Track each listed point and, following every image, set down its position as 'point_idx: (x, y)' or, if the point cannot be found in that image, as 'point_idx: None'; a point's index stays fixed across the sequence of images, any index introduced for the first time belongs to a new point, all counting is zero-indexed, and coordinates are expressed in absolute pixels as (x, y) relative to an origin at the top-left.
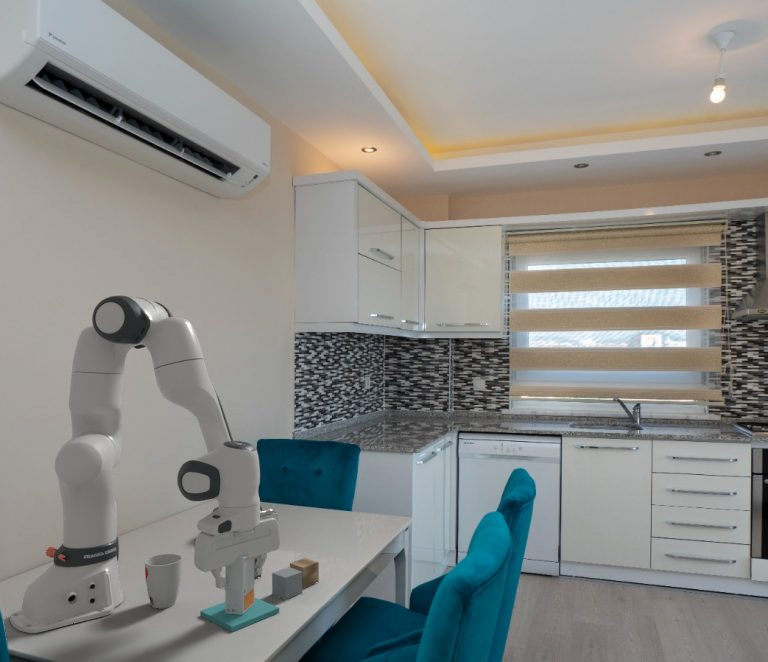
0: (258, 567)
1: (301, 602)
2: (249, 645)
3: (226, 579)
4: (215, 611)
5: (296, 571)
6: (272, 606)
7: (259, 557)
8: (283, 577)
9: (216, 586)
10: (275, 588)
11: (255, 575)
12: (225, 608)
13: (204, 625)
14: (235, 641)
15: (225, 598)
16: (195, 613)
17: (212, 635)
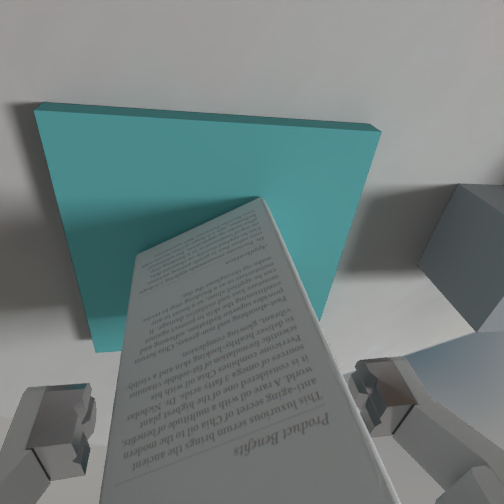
0: (385, 432)
1: (409, 314)
2: (98, 411)
3: (114, 428)
4: (111, 193)
5: None
6: None
7: (451, 496)
8: (483, 320)
9: (29, 393)
10: (467, 222)
11: (351, 376)
12: (134, 271)
13: (20, 224)
14: (74, 381)
15: (128, 309)
16: (27, 35)
17: (18, 316)
